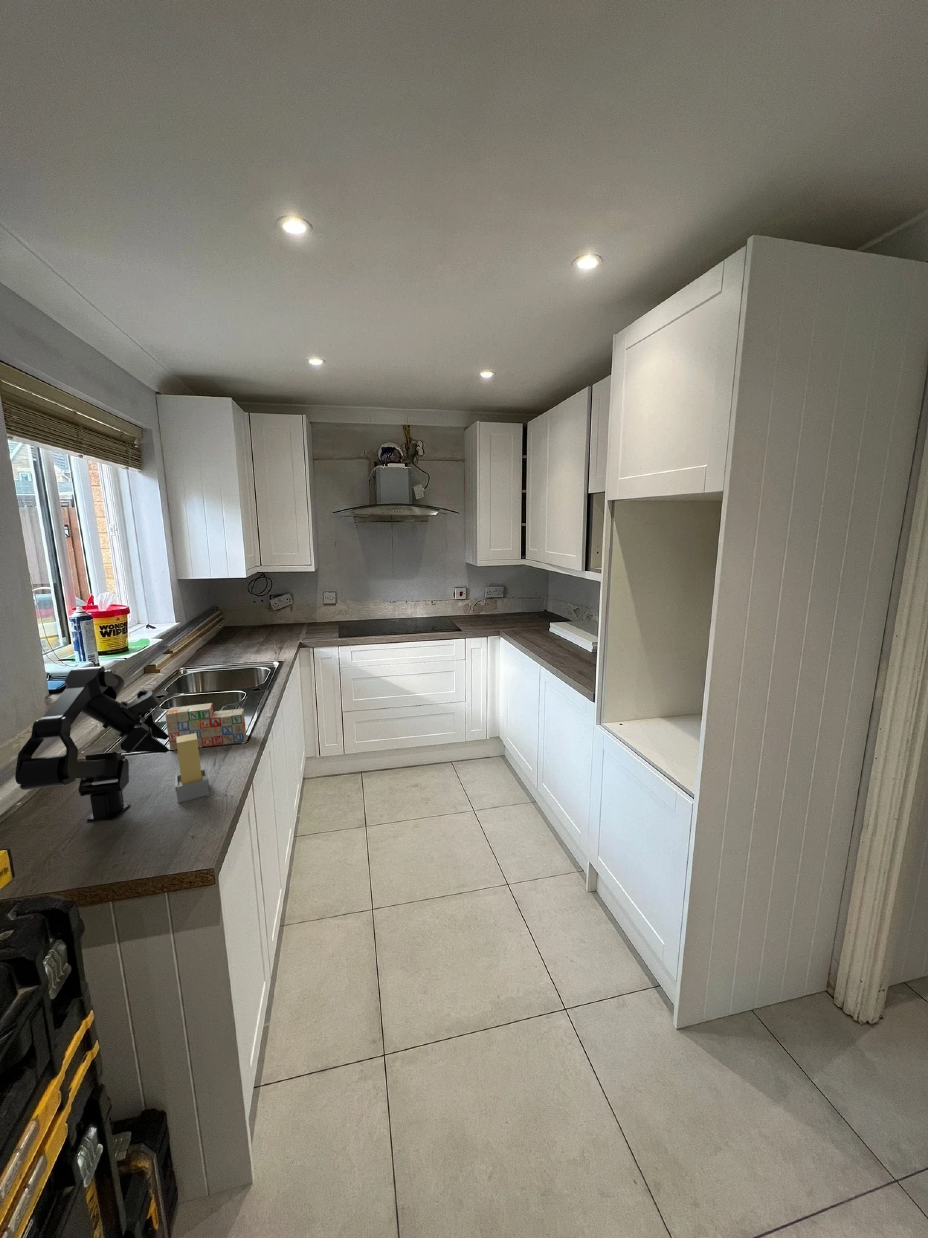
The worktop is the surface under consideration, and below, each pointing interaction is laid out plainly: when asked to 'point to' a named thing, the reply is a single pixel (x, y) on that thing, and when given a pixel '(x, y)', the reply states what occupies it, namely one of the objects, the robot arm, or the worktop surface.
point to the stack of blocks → (205, 725)
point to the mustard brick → (189, 758)
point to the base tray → (192, 788)
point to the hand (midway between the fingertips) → (167, 744)
